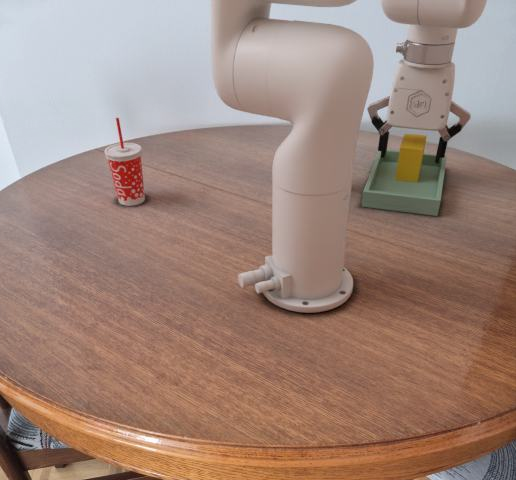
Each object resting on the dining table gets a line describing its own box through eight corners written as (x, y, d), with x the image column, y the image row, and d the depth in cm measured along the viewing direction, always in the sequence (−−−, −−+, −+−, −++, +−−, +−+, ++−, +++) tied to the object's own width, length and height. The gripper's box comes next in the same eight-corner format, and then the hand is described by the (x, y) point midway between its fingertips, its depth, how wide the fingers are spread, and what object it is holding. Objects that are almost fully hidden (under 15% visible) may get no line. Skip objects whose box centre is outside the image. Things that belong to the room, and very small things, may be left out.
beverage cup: (107, 200, 96) (90, 119, 87) (135, 189, 99) (121, 109, 90) (128, 211, 93) (112, 127, 84) (156, 199, 96) (144, 117, 87)
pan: (437, 216, 90) (440, 200, 88) (361, 206, 93) (363, 191, 91) (443, 169, 104) (446, 155, 102) (377, 162, 107) (379, 148, 105)
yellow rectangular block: (417, 182, 98) (423, 149, 94) (394, 180, 99) (400, 147, 95) (420, 167, 103) (426, 135, 99) (399, 165, 104) (404, 133, 100)
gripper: (371, 54, 87) (359, 160, 98) (484, 62, 83) (458, 171, 94) (377, 45, 92) (365, 146, 103) (484, 51, 88) (460, 156, 99)
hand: (409, 158), depth 99 cm, fingers open, 9 cm apart
